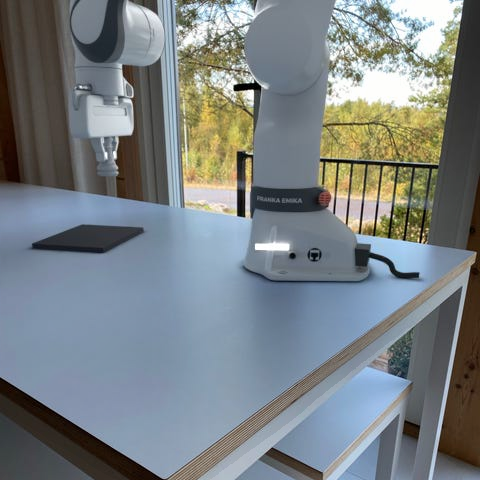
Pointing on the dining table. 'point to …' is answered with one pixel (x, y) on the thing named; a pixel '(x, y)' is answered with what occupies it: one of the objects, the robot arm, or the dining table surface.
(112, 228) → the mat
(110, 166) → the rook chess piece
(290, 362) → the dining table surface
